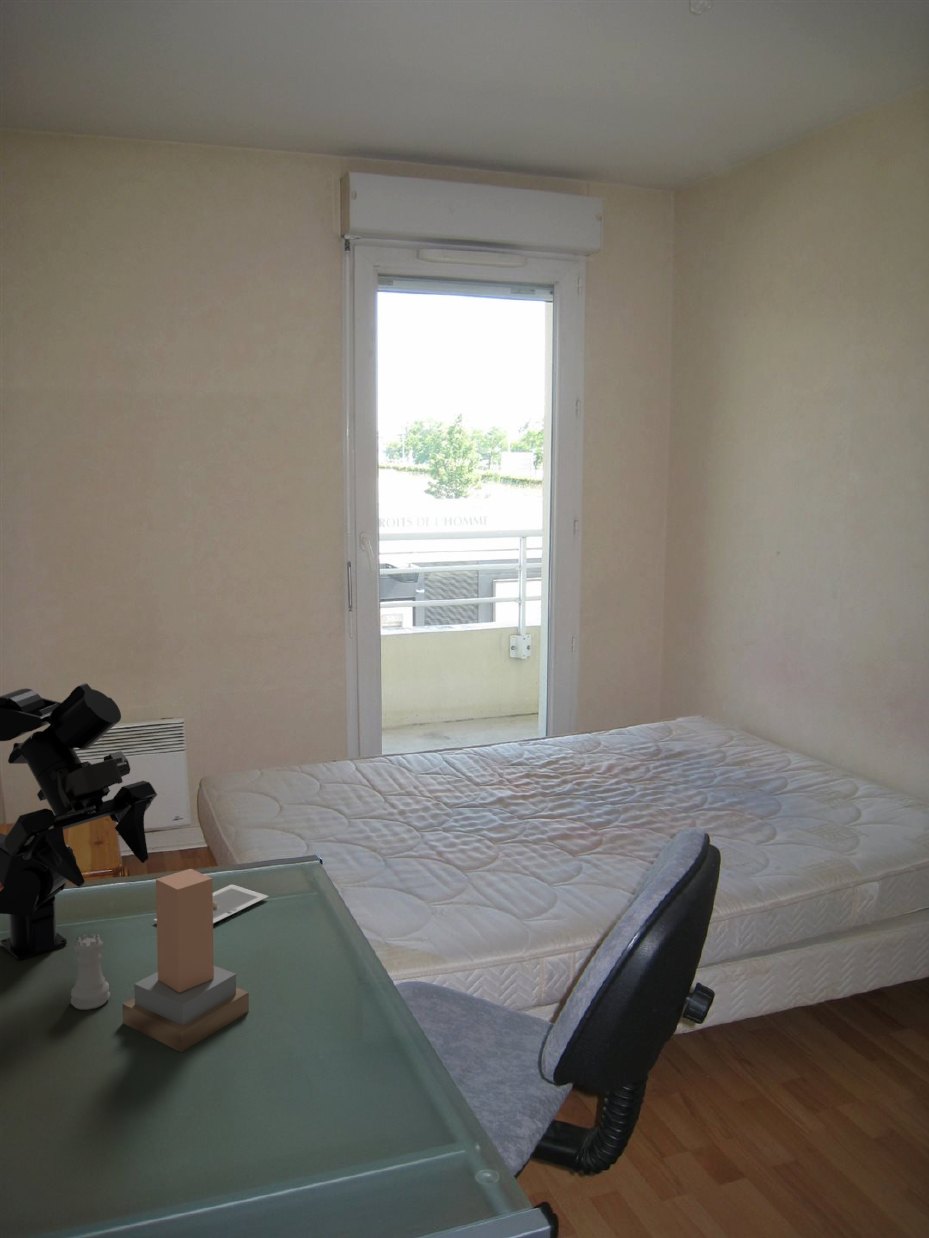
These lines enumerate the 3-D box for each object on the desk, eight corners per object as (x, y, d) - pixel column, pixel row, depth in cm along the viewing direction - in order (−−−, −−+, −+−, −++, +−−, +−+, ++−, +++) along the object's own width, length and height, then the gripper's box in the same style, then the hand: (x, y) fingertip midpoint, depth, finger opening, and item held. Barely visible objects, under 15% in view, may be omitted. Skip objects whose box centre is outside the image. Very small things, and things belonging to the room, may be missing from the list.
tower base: (123, 1027, 107) (122, 1003, 107) (191, 990, 116) (191, 967, 115) (181, 1057, 102) (180, 1031, 101) (248, 1016, 110) (248, 992, 110)
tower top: (134, 1004, 107) (134, 983, 106) (188, 974, 113) (188, 955, 113) (183, 1025, 103) (182, 1004, 102) (236, 993, 109) (235, 973, 109)
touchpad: (153, 926, 132) (153, 912, 132) (231, 890, 145) (231, 877, 145) (191, 941, 128) (191, 926, 128) (268, 902, 141) (268, 889, 140)
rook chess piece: (96, 1013, 109) (94, 948, 108) (62, 1008, 110) (59, 944, 109) (117, 994, 113) (116, 931, 112) (84, 989, 114) (82, 927, 113)
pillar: (157, 979, 107) (155, 878, 106) (192, 965, 111) (190, 868, 109) (179, 992, 104) (177, 889, 103) (213, 978, 108) (212, 878, 107)
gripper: (13, 751, 109) (73, 862, 105) (146, 721, 125) (203, 817, 120) (-20, 802, 114) (35, 911, 110) (111, 768, 130) (164, 862, 125)
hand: (114, 872), depth 116 cm, fingers open, 9 cm apart
